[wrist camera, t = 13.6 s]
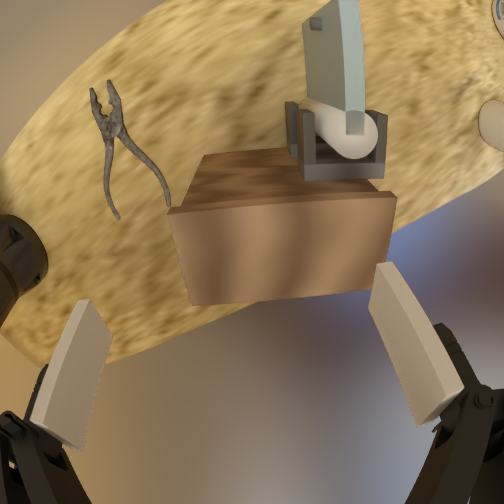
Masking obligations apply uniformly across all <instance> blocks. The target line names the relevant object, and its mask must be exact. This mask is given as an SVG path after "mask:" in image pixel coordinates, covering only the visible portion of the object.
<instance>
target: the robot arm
mask: <svg viewBox="0 0 504 504" xmlns="http://www.w3.org/2000/svg"><path fill="white" fill-rule="evenodd" d="M47 269H48V261H47V256H46V252H45V249H44V247H43V245H42V243H41V241H40V239H39V238H38V236H37V235H36V233H35V232H34V231H33V230H32V229H31V227H30V226H29V225H27V224H26V223H25V222H24V221H22V220H21V219H19V218H17V217H15V216H12V215H3V216H1V217H0V328H1V326H2V324H3V322H4V321H5V319H6V317H7V316H8V314H9V313H10V311H11V309H12V308H13V306H14V304H15V303H16V301H17V300H18V299H19V297H21V296H22V295H24V294H25V293H27V292H28V291H30V290H31V289H33V288H34V287H36V286H37V285H38V284H39V283H40V282H41V281H42V279H43V278H44V276H45V275H46V273H47ZM368 309H369V311H370V313H371V315H372V317H373V319H374V322H375V324H376V326H377V328H378V330H379V333H380V335H381V337H382V340H383V342H384V344H385V347H386V349H387V351H388V354H389V356H390V358H391V361H392V363H393V366H394V368H395V371H396V373H397V376H398V378H399V381H400V383H401V386H402V389H403V391H404V394H405V396H406V399H407V402H408V404H409V407H410V410H411V412H412V416H413V419H414V421H415V424H416V427H417V428H418V427H421V426H423V425H426V424H428V423H431V422H433V421H434V420H435V419H436V418H437V417H438V416H440V418H441V422H440V423H439V424H437V425H436V427H434V429H433V431H432V432H433V433H434V432H435V431H436V430H437V429H438V430H437V433H436V436H435V438H434V441H433V444H432V446H431V448H430V451H429V454H428V456H427V458H426V460H425V463H424V465H423V467H422V470H421V472H420V474H419V476H418V478H417V480H416V483H415V484H414V486H413V489H412V490H411V492H410V494H409V496H408V498H407V500H406V502H405V504H467V502H468V500H469V498H470V501H469V504H504V389H496V390H492V389H491V388H490V387H488V386H486V385H482V384H480V382H479V381H478V379H477V377H476V375H475V373H474V372H473V369H472V367H471V365H470V364H469V362H468V360H467V358H466V356H465V354H464V352H463V351H462V350H461V347H460V345H459V344H458V343H457V340H456V338H455V337H454V335H453V333H452V331H451V330H450V329H448V328H447V327H446V326H445V325H444V324H443V323H439V324H436V325H433V326H432V324H431V323H430V321H429V319H428V318H427V316H426V314H425V312H424V311H423V309H422V307H421V306H420V304H419V302H418V301H417V300H416V298H415V296H414V294H413V293H412V291H411V290H410V288H409V287H408V285H407V283H406V282H405V280H404V279H403V277H402V276H401V274H400V273H399V271H398V270H397V268H396V267H395V265H394V264H393V262H392V261H391V262H385V263H378V264H377V265H376V271H375V277H374V282H373V287H372V293H371V298H370V303H369V307H368ZM112 339H113V335H112V334H111V332H110V331H109V329H108V328H107V326H106V325H105V323H104V321H103V320H102V318H101V317H100V315H99V313H98V312H97V310H96V308H95V307H94V305H93V303H92V301H91V300H90V299H83V300H78V301H77V303H76V305H75V307H74V309H73V311H72V313H71V315H70V317H69V320H68V322H67V324H66V326H65V328H64V330H63V333H62V335H61V337H60V339H59V342H58V344H57V346H56V349H55V351H54V353H53V356H52V358H51V361H50V363H49V364H46V365H45V366H44V368H43V369H42V370H41V372H40V374H39V377H38V379H37V384H35V387H34V392H33V393H32V395H31V398H30V401H29V405H28V407H27V410H26V413H25V417H24V419H23V420H21V419H20V418H19V417H18V416H16V415H15V414H14V413H13V412H11V411H5V412H3V413H2V414H1V415H0V504H92V503H91V502H90V500H89V498H88V496H87V494H86V492H85V491H84V489H83V487H82V485H81V483H80V481H79V479H78V477H77V475H76V473H75V471H74V469H73V467H72V465H71V463H70V461H69V458H68V456H67V454H66V452H65V450H64V449H63V448H62V443H63V444H65V445H66V446H68V447H69V448H72V449H76V450H80V451H84V447H85V442H86V437H87V432H88V428H89V423H90V419H91V414H92V410H93V406H94V402H95V398H96V394H97V390H98V387H99V383H100V379H101V376H102V372H103V368H104V365H105V362H106V358H107V355H108V352H109V349H110V345H111V342H112ZM9 461H10V462H12V463H14V465H15V466H14V469H13V468H11V467H9ZM470 495H471V496H470Z"/></svg>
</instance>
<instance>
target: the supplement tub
mask: <svg viewBox="0 0 504 504" xmlns="http://www.w3.org/2000/svg"><path fill="white" fill-rule="evenodd" d="M492 13H493V18H494V21H495V24H496V26H497V28H498V30H499V32H500V33H501V35H502V36H503V38H504V0H494V1H493V4H492Z"/></svg>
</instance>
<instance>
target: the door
mask: <svg viewBox="0 0 504 504" xmlns="http://www.w3.org/2000/svg"><path fill="white" fill-rule="evenodd" d="M302 28H303V39H304V51H305V65H306V80H307V98H306V99H304V100H303V101H302V102H301V104H300V106H299V109H308V110H310V111H312V112H314V113H315V133H316V134H318V135H319V136H320V137H321V138H322V139H323V140H325V141H326V142H327V143H328V144H329V145H330V146H331V147H333V148H334V149H335V150H336V151H337V152H338V153H339V154H341V155H342V156H344V157H346V158H350V159H359V158H362V157H365V156H366V155H368V154H369V153H370V152H371V151H372V150H373V149H374V147H375V145H376V143H377V139H378V130H377V126H376V124H375V122H374V120H373V119H372V118H371V117H370V116H369V115H368V114H366V113H365V82H364V57H363V41H362V29H361V18H360V9H359V1H358V0H331V1H330V2H329V3H327V4H326V5H325V6H323V7H322V8H321V9H320V10H318V11H317V12H316V13H315V14H313V15H312V16H311V17H310V18H308V19H307V20H306V21H305V22H304V23H302Z"/></svg>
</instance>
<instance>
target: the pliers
mask: <svg viewBox="0 0 504 504" xmlns="http://www.w3.org/2000/svg"><path fill="white" fill-rule="evenodd" d="M89 90H90V99H91V107H92V113H93V115H94V117H95V120H96V122H97V125H98V127H99V129H100V131H101V133H102V137H103V141H104V142H105V147H106V156H105V167H104V191H105V195H106V199H107V201H108V204H109V206H110V208H111V210H112V212H113V214H114V215H115V217H116V218H117V219H120V216H119V214H118V212H117V211H116V209H115V207H114V205H113V202H112V199H111V196H110V192H109V177H110V170H111V165H112V159H113V150H114V139H113V138H114V137H115V136H117V137H118V138H119V139H120V140H121V141H122V143H123V144H124V145H125V146H126V147H127V148H128V149H129V150H130V151H131V152H132V153H133V154H134V155H135V156H137V157H138V158H139V159H140V160H141V161H143V162H144V163H145V164H146V165H147V166H148V167H149V168H150V169H151V170H152V171H153V172H154V173H155V175H156V176H157V178H158V179H159V181H160V183H161V185H162V187H163V190H164V193H165V198H166V203H167V206H168V207H170V206H171V199H170V193H169V190H168V186H167V184H166V181H165V179H164V177H163V175H162V173H161V172H160V170H159V169H158V167H157V166H156V165H155V164H154V163H153V162H152V161H151V160H150V159H149V158H148V157H147V156H146V155H145V154H144V153H143V152H142V151H141V150H140V149H139V148H138V147H137V146H136V145H135V144H134V142H133V141H132V140H131V138H130V137H129V135H128V133H127V130H126V128H125V125H124V123H123V114H122V106H121V99H120V97H119V95H118V94H117V92H116V90H115V88H114V86H113V84H112V83H111V81H110V80H107V90H108V92H109V95H110V99H109V101H108V102H109V104H111V105H112V106H113V111H112V112H111V113H110V116H109V117H107V115H102V114H101V108H102V105H101V104H100V103H98V102H97V95H96V94H95V92H94V90H93V88H90V89H89Z"/></svg>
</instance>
